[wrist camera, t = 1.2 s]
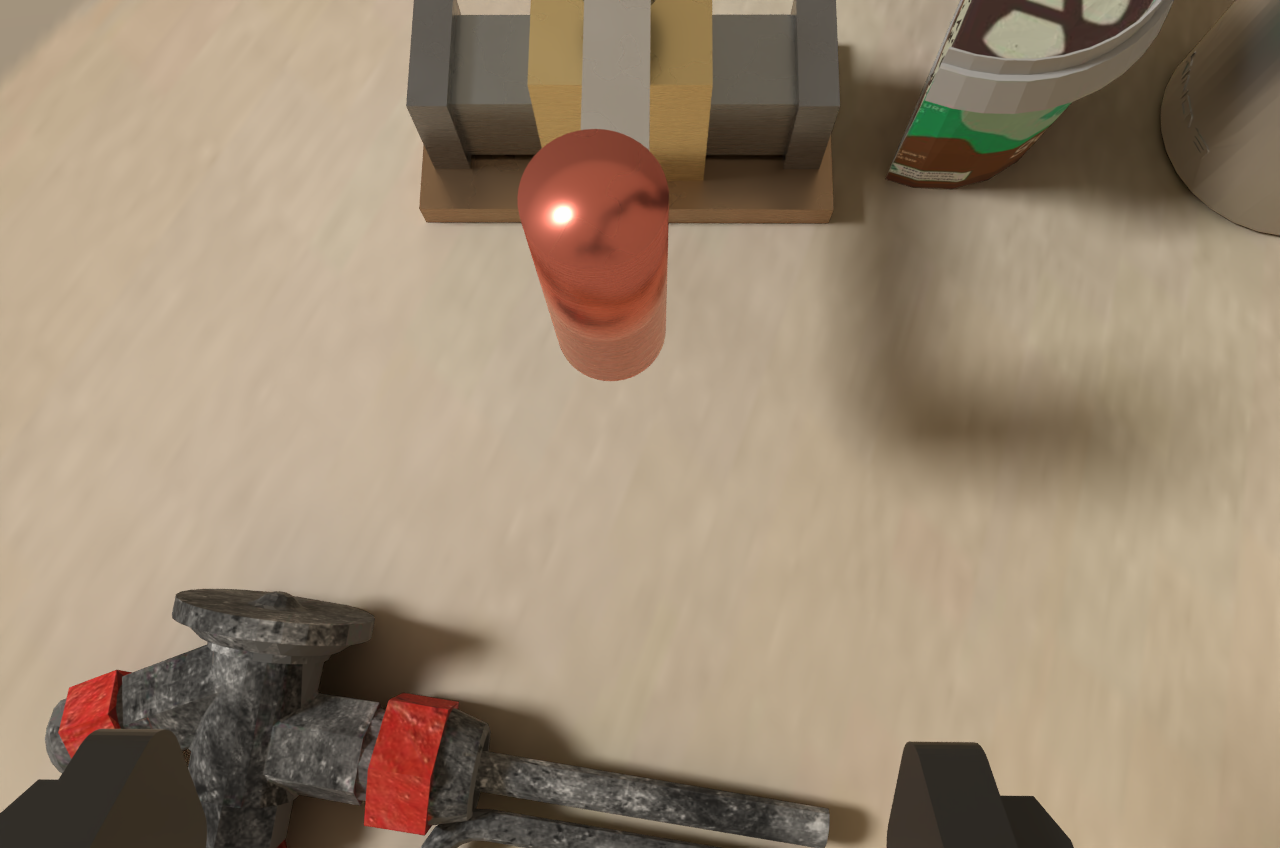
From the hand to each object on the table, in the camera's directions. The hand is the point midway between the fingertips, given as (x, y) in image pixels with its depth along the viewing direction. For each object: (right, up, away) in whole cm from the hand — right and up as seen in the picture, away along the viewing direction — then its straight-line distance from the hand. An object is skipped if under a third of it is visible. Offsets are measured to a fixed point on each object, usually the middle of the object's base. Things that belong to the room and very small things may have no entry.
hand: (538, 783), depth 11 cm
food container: (+16, +17, +29) cm, 37 cm away
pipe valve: (+1, +16, +29) cm, 33 cm away
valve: (-6, -11, +24) cm, 27 cm away
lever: (0, +12, +19) cm, 22 cm away
